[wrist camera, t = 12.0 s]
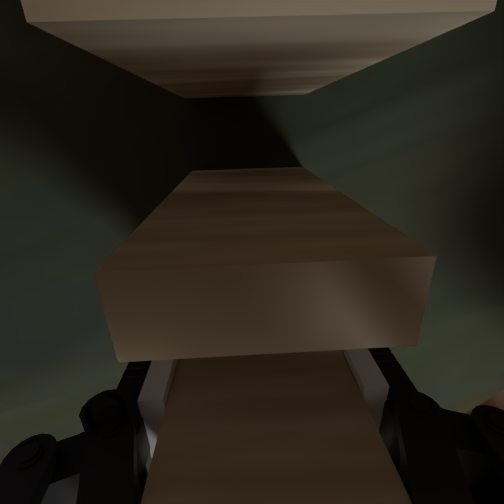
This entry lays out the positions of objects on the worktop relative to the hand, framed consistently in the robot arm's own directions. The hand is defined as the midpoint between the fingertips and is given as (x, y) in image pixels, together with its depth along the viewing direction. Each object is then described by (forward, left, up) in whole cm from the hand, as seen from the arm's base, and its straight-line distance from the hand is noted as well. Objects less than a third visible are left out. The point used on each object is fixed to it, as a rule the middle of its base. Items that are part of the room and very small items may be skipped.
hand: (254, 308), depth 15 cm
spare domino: (0, 0, -2) cm, 2 cm away
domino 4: (+6, 0, -4) cm, 7 cm away
